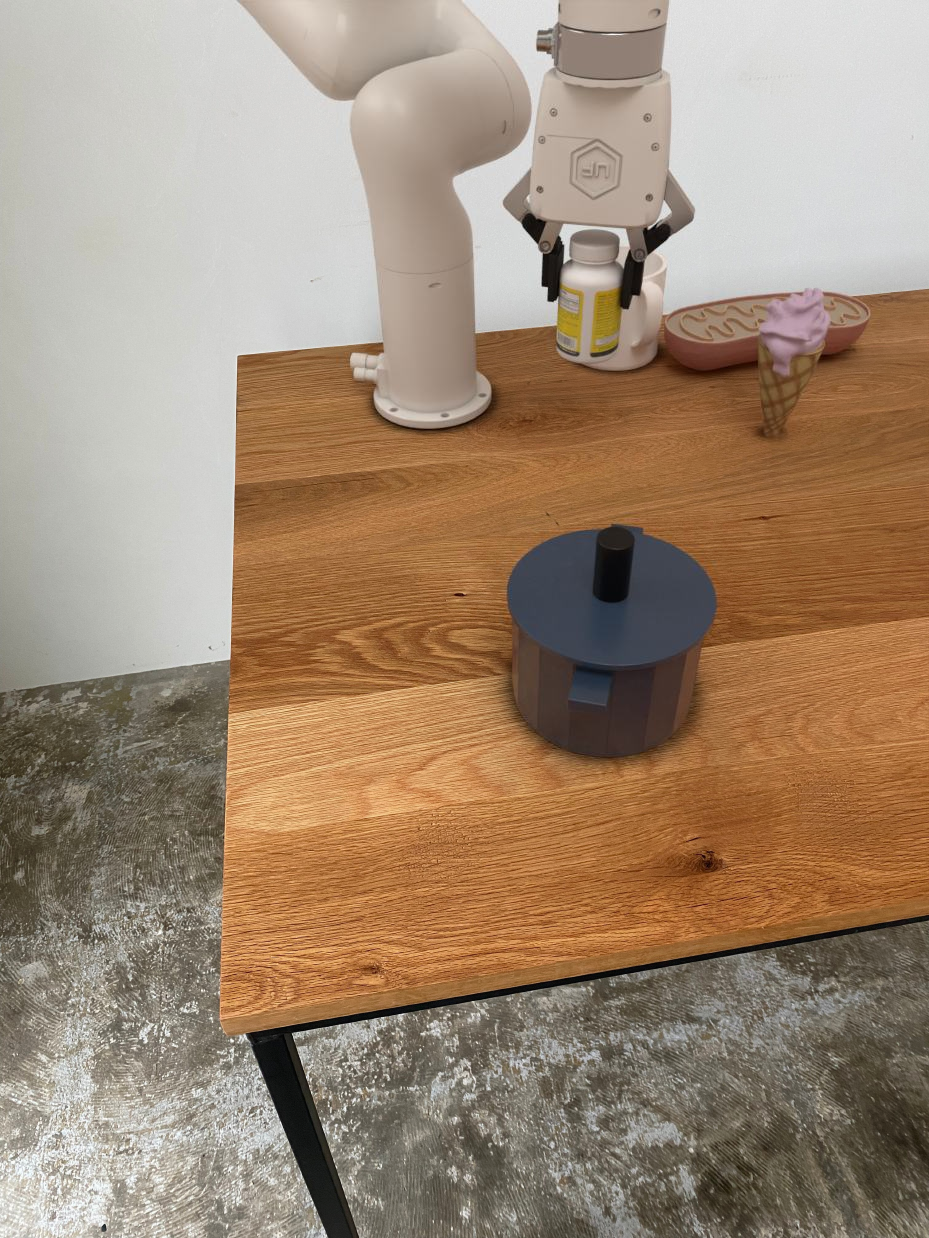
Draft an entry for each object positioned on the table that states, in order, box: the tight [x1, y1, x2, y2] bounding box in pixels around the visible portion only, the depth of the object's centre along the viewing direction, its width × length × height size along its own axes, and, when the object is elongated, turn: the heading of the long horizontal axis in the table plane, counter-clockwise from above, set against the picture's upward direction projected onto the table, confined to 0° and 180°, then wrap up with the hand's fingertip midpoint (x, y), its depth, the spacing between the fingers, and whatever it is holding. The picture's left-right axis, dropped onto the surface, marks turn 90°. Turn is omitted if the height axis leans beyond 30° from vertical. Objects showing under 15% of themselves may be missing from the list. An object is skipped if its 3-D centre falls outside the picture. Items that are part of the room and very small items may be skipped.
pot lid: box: [506, 526, 718, 671], centre depth 61 cm, size 14×14×6 cm
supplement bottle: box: [555, 228, 624, 365], centre depth 78 cm, size 5×5×10 cm
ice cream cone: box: [757, 287, 831, 439], centre depth 88 cm, size 7×6×15 cm
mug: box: [580, 243, 668, 372], centre depth 103 cm, size 13×10×10 cm
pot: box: [511, 523, 704, 758], centre depth 65 cm, size 13×18×9 cm
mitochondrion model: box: [663, 290, 872, 371], centre depth 104 cm, size 23×10×5 cm, turn 101°
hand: (590, 296), depth 78 cm, fingers closed on supplement bottle, 5 cm apart
